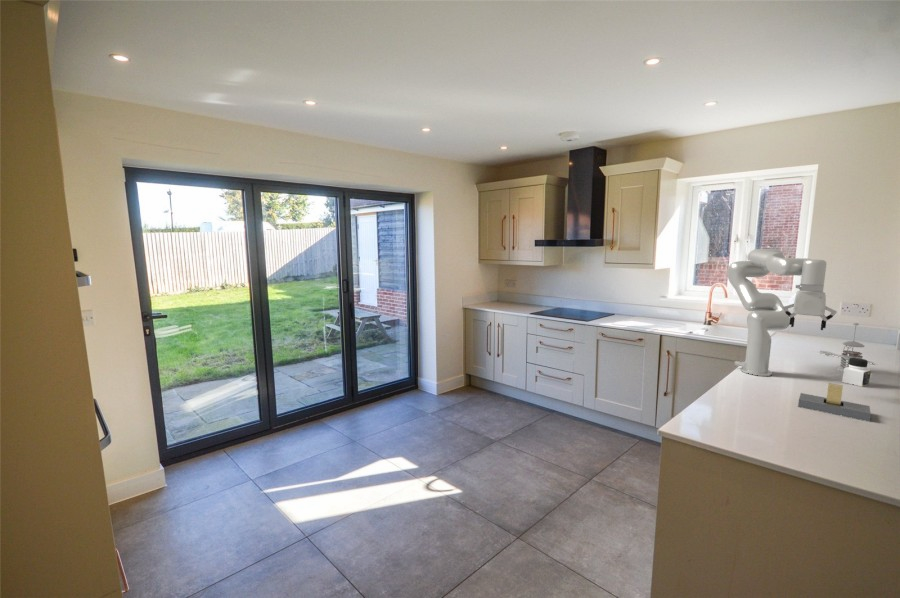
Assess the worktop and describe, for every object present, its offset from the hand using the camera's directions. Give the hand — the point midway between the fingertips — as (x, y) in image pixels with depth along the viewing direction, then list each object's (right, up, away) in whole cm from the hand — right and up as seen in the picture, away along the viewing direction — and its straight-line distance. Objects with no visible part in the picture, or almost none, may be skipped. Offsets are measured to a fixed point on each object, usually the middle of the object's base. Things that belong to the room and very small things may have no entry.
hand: (806, 328), depth 177 cm
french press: (+52, -24, +35) cm, 67 cm away
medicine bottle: (+35, -27, +14) cm, 46 cm away
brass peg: (-4, -31, -17) cm, 35 cm away
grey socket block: (-5, -31, -17) cm, 35 cm away
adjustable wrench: (+71, -22, +58) cm, 94 cm away
